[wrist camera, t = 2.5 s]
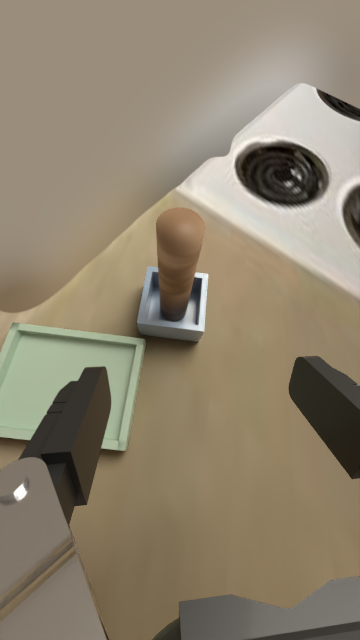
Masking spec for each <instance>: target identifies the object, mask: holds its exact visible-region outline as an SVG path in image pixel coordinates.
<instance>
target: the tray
mask: <svg viewBox="0 0 360 640" xmlns="http://www.w3.org/2000/svg"><path fill="white" fill-rule="evenodd" d="M145 346H146V342H145V339H142V338H134V337H126V336H118V335H110V334H102V333H94V332H86V331H78V330H69V329H61V328H53V327H45V326H37V325H29V324H21V323H12V326H11V328H10V330H9V333H8V335H7V338H6V340H5V342H4V345H3V347H2V349H1V352H0V437H6V438H14V439H23V440H30V439H31V438H32V436H33V434H34V433H35V431H36V429H37V428H38V426H39V424H40V423H41V421H42V419H43V417H44V416H45V415H46V414H47V411H48V409H49V407H50V406H51V405H52V402H53V401H54V399H55V397H56V396H57V394H58V392H59V391H60V390H61V389H62V388H63V387H64V386H65V385H67V384H68V383H69V382H70V381H78V379H79V378H80V376H81V374H82V372H83V370H84V368H85V367H100V366H105V367H106V369H107V374H108V380H109V386H110V392H111V411H110V415H109V419H108V423H107V427H106V431H105V435H104V439H103V443H102V447H101V448H103V449H112V450H121V451H125V450H126V449H127V448H128V445H129V439H130V433H131V427H132V422H133V416H134V410H135V404H136V398H137V393H138V387H139V381H140V375H141V370H142V364H143V358H144V352H145Z"/></svg>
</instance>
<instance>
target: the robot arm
mask: <svg viewBox="0 0 360 640" xmlns="http://www.w3.org/2000/svg"><path fill="white" fill-rule="evenodd" d="M289 394H290V397H291V399H292V400H293V402H294V403H295V404H296V406H297V407H298V408H299V410H300V411H301V412H302V414H303V415H304V416H305V418H306V419H307V420H308V422H309V423H310V424H311V426H312V427H313V428H314V429H315V431H316V432H317V433H318V435H319V436H320V437H321V439H322V440H323V441H324V443H325V444H326V445H327V447H328V448H329V449H330V451H331V452H332V453H333V455H334V456H335V457H336V459H337V460H338V461H339V462H340V464H341V465H342V466H343V468H344V469H345V470H346V472H347V473H348V474H349V476H350V477H351V478H352V479H357V478H360V386H358V385H357V383H356V382H354V381H353V380H352V379H351V378H349V377H348V376H347V375H346V374H344V373H342V372H340V371H338V370H336V369H334V368H332V367H331V366H330V365H329V364H327V363H326V362H325V361H324V360H323V359H321V358H320V357H318V356H306V357H298V358H297V359H296V360H295V363H294V367H293V371H292V375H291V379H290V383H289ZM110 411H111V392H110V386H109V380H108V374H107V369H106V367H105V366H100V367H85V368H84V370H83V372H82V374H81V376H80V378H79V379H78V381H70V382H69V383H68V384H67V385H65V386H64V387H63V388H62V389H61V390H60V391H59V392H58V394H57V396H56V397H55V399H54V401H53V402H52V405H51V406H50V407H49V409H48V411H47V414H46V415H45V416H44V417H43V419H42V421H41V423H40V424H39V426H38V428H37V429H36V431H35V433H34V434H33V436H32V438H31V439H30V441H29V443H28V444H27V446H26V448H25V450H24V451H23V453H22V455H21V456H20V458H19V459H18V460H17V461H14V462H12V463H10V464H8V465H7V466H5V467H4V468H2V469H1V470H0V640H110V638H109V635H108V632H107V629H106V626H105V624H104V621H103V618H102V615H101V613H100V610H99V607H98V605H97V602H96V599H95V596H94V593H93V591H92V588H91V585H90V582H89V579H88V577H87V574H86V571H85V568H84V565H83V563H82V560H81V557H80V554H79V551H78V548H77V546H76V543H75V540H74V537H73V534H72V532H71V529H70V526H69V523H70V520H71V516H72V513H73V510H74V506H80V505H87V502H88V498H89V494H90V490H91V486H92V482H93V478H94V474H95V470H96V466H97V462H98V459H99V455H100V451H101V447H102V443H103V439H104V435H105V431H106V427H107V423H108V419H109V415H110ZM152 640H360V576H357V577H350V578H343V579H336V580H330V581H329V582H327V583H326V584H325V585H323V586H322V587H321V588H319V589H318V590H316V591H315V592H314V593H312V594H311V595H309V596H308V597H307V598H305V599H304V600H302V601H301V602H300V603H298V604H297V605H295V606H294V607H292V608H288V609H285V608H280V607H276V606H273V605H269V604H265V603H261V602H257V601H253V600H250V599H246V598H242V597H238V596H234V595H224V596H217V597H210V598H203V599H196V600H189V601H182V602H179V618H178V619H176V620H175V621H173V622H172V623H170V624H169V625H167V626H166V627H165V628H164V629H163V630H162V631H160V632H159V633H158V634H157V635H156V636H155V637H154V638H153V639H152Z"/></svg>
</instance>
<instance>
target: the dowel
mask: <svg viewBox="0 0 360 640" xmlns="http://www.w3.org/2000/svg"><path fill="white" fill-rule="evenodd" d="M156 233H157V254H158V275H159V296H160V312H161V315H162V316H163V318H164V319H166V320H168V321H171V322H176V321H179V320H181V319H182V318H183V317H184V316H185V314H186V311H187V307H188V302H189V298H190V294H191V289H192V285H193V281H194V276H195V272H196V268H197V263H198V259H199V255H200V250H201V246H202V242H203V237H204V233H205V223H204V221H203V219H202V218H201V217H200V215H198V214H197V213H196V212H194V211H192V210H190V209H186V208H172V209H169V210H166V211H165V212H163V213H162V214H161V215H160V216H159V217H158V219H157V222H156Z"/></svg>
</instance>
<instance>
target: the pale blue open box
mask: <svg viewBox="0 0 360 640" xmlns="http://www.w3.org/2000/svg"><path fill="white" fill-rule="evenodd" d="M207 284H208V274H204V273H196V272H195V276H194V281H193V285H192V289H191V294H190V298H189V302H188V307H187V311H186V314H185V316H184V317H183V318H182V319H181V320H179V321H176V322H171V321H168V320H166V319H164V318H163V316H162V315H161V312H160V296H159V275H158V267H150V266H148V267H147V272H146V278H145V283H144V288H143V293H142V298H141V303H140V308H139V313H138V318H137V326H138V328H139V331H140V334H141V335H147V336H155V337H163V338H171V339H179V340H187V341H195V342H199V340H200V338H201V336H202V334H203V333H204V326H205V312H206V298H207Z"/></svg>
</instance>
